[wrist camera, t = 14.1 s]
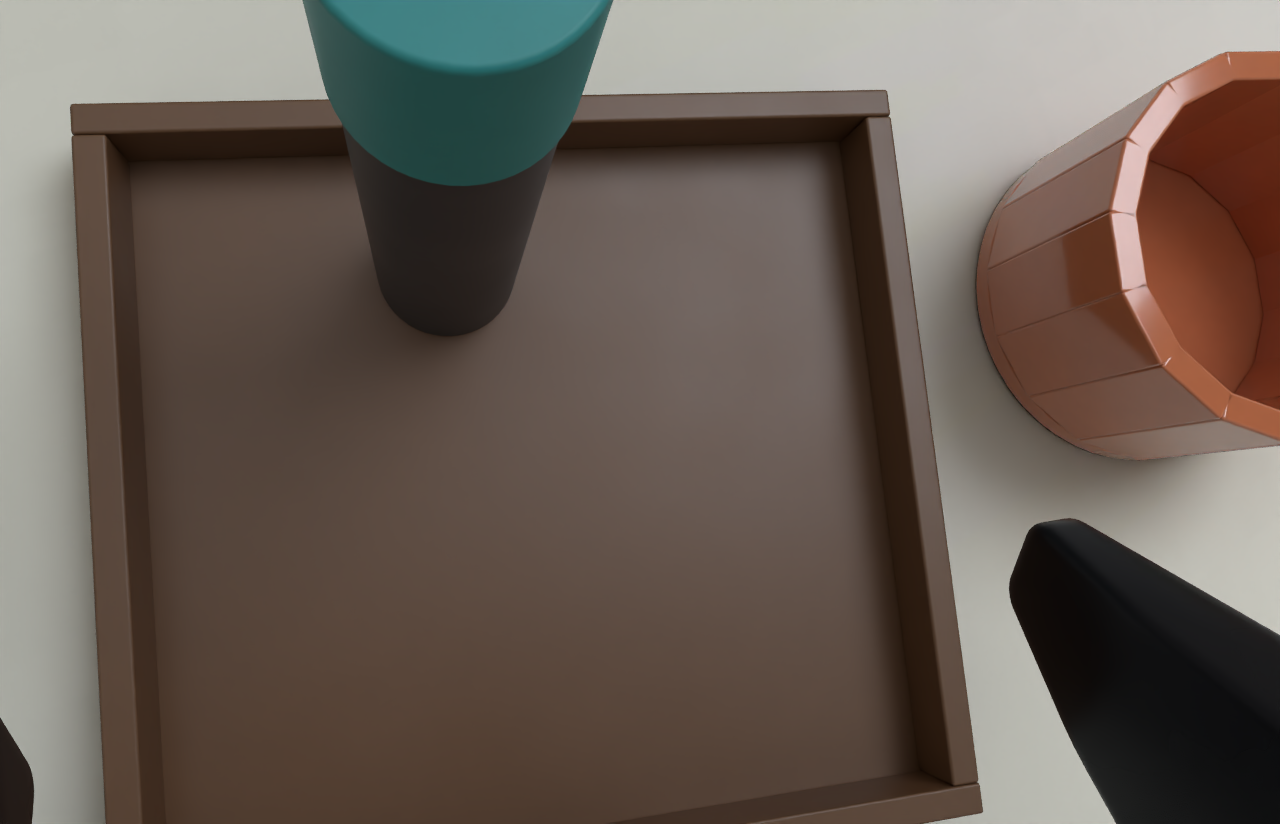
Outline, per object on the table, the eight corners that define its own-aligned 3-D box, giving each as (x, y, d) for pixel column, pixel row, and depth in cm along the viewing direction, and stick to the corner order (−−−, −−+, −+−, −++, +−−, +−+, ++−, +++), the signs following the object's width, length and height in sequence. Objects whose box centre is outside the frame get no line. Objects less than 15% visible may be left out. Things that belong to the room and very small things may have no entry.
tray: (938, 790, 22) (984, 813, 20) (143, 927, 19) (111, 970, 17) (852, 123, 24) (888, 88, 22) (102, 141, 20) (68, 102, 19)
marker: (547, 290, 21) (693, -29, 9) (427, 369, 21) (416, 136, 9) (464, 174, 21) (503, -303, 9) (342, 249, 21) (207, -158, 9)
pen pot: (1284, 445, 25) (1490, 424, 20) (999, 475, 23) (1147, 459, 19) (1234, 140, 26) (1419, 48, 21) (954, 149, 24) (1084, 52, 19)
